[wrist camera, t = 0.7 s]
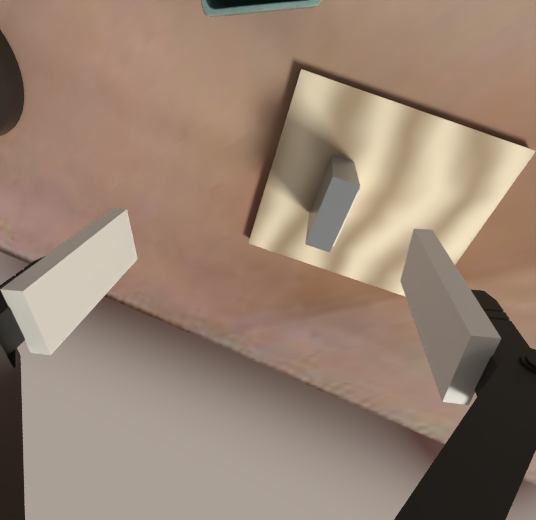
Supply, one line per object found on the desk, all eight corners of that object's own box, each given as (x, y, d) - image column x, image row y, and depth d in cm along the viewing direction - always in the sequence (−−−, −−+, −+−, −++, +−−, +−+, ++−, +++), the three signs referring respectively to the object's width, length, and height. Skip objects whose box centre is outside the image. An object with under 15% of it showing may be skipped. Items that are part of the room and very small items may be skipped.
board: (250, 239, 44) (248, 243, 43) (301, 68, 34) (301, 69, 33) (424, 298, 44) (427, 303, 43) (529, 148, 34) (535, 151, 33)
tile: (309, 212, 40) (305, 244, 33) (332, 154, 36) (332, 176, 29) (332, 220, 40) (333, 253, 33) (357, 163, 36) (364, 187, 29)
